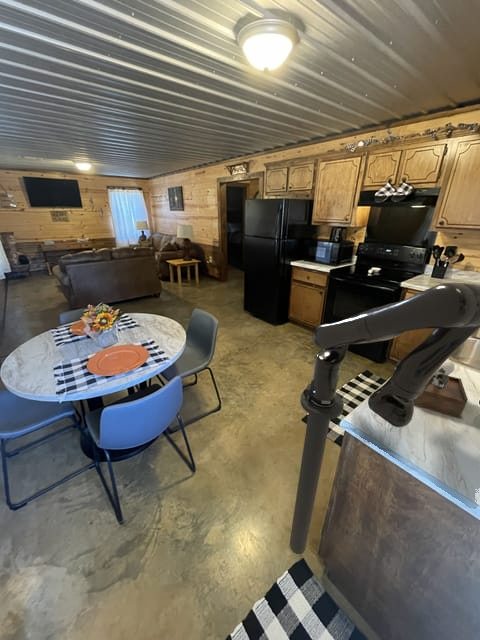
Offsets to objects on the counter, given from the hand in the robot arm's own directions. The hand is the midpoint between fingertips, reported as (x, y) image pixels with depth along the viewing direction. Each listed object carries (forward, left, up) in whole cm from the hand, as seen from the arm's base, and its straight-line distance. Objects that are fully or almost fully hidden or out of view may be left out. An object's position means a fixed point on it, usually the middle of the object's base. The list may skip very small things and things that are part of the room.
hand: (426, 365), depth 90 cm
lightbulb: (+6, +9, -11) cm, 16 cm away
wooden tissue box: (+6, +9, -18) cm, 21 cm away
